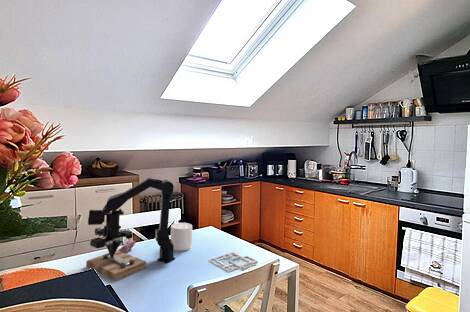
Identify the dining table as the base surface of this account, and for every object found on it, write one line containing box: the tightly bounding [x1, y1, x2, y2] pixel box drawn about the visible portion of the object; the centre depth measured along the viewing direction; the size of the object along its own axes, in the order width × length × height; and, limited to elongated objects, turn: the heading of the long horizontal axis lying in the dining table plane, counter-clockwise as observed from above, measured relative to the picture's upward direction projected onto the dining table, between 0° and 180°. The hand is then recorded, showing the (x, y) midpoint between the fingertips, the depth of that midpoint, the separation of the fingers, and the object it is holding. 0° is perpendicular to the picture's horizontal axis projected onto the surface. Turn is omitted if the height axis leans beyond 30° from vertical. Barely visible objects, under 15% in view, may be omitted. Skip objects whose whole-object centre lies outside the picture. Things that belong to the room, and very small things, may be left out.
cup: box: [170, 222, 193, 252], centre depth 167 cm, size 12×12×12 cm
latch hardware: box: [102, 252, 134, 268], centre depth 139 cm, size 16×6×2 cm, turn 57°
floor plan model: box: [208, 251, 259, 273], centre depth 151 cm, size 19×25×2 cm
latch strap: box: [107, 255, 131, 266], centre depth 138 cm, size 13×3×1 cm, turn 57°
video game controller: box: [117, 239, 137, 254], centre depth 158 cm, size 10×5×7 cm, turn 169°
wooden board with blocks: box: [85, 249, 147, 282], centre depth 139 cm, size 22×16×3 cm
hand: (111, 256), depth 141 cm, fingers closed, pressing on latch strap
